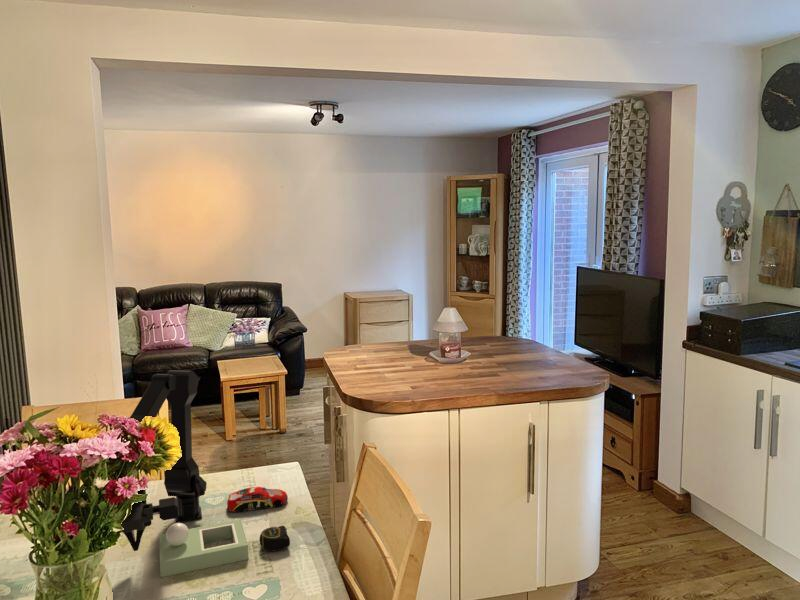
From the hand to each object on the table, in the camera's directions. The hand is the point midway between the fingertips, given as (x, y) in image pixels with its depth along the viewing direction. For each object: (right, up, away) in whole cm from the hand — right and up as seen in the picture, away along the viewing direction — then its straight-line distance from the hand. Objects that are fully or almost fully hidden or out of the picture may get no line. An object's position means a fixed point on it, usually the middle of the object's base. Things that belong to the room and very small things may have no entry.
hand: (136, 550), depth 137 cm
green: (+13, -3, +6) cm, 15 cm away
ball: (+8, +2, +3) cm, 9 cm away
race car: (+21, 0, +30) cm, 36 cm away
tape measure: (+30, -3, +9) cm, 32 cm away
